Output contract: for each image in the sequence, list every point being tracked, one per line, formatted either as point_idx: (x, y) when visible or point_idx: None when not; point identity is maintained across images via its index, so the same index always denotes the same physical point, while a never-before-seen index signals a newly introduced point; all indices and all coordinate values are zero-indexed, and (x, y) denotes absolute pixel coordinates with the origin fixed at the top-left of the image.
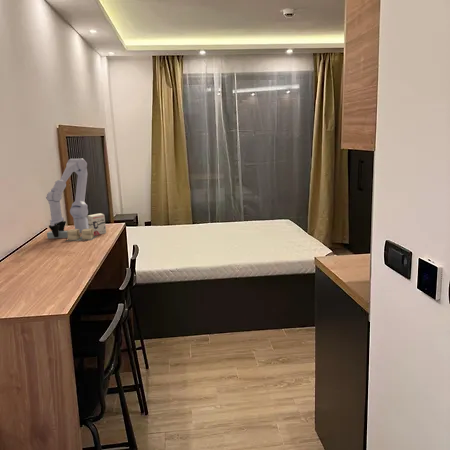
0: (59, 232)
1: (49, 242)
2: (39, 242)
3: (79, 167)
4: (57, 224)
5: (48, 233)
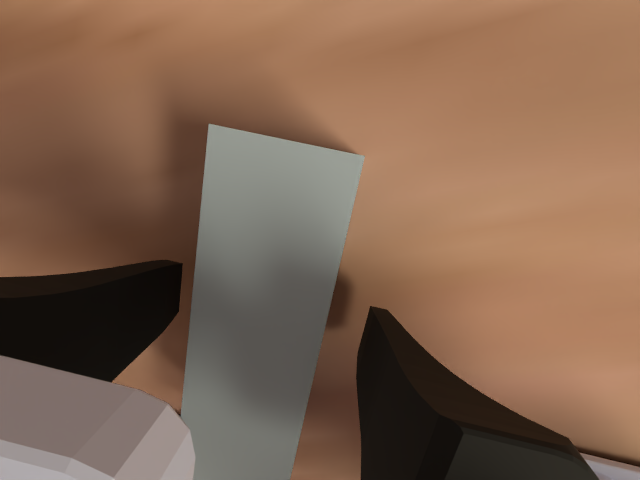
0: (186, 364)
1: (48, 207)
2: (69, 49)
3: None
4: (408, 427)
5: (212, 160)
